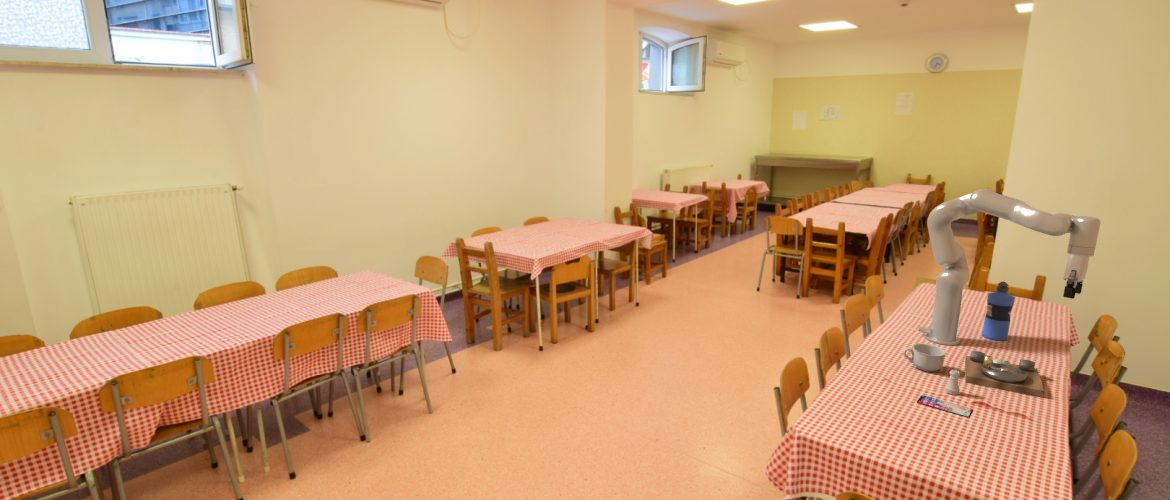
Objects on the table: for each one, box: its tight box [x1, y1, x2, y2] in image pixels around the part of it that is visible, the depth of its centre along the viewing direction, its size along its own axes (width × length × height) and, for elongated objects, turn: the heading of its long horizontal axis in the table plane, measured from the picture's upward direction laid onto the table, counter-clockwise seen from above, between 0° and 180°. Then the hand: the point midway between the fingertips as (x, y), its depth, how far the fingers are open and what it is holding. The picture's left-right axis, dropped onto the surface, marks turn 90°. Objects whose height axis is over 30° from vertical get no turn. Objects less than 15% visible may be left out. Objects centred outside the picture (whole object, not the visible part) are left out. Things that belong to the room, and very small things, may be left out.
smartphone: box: [916, 395, 974, 418], centre depth 187 cm, size 8×1×15 cm
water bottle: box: [981, 281, 1016, 342], centre depth 245 cm, size 9×9×25 cm
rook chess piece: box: [944, 369, 961, 396], centre depth 196 cm, size 4×4×8 cm
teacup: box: [902, 343, 946, 373], centre depth 216 cm, size 14×11×8 cm
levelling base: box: [964, 350, 1045, 399], centre depth 207 cm, size 22×22×6 cm
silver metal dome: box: [981, 355, 1027, 384], centre depth 203 cm, size 13×13×6 cm
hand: (1071, 295), depth 212 cm, fingers open, 9 cm apart
